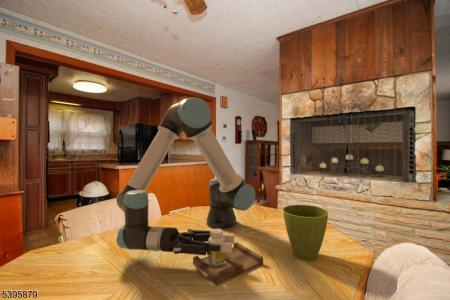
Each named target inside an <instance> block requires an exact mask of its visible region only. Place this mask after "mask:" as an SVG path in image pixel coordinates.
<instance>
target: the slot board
mask: <svg viewBox="0 0 450 300" xmlns="http://www.w3.org/2000/svg"><path fill="white" fill-rule="evenodd" d="M192 264H193V265H194V267H195V269H197V271H199V272H200V273H201V274H202V275H203V277H205V278H207V279H209V280H210V282H212V283H213V284H214V286H218V285H221V284H222V283H224V282H226V281H228V280H229V281H230V280H231V279H233V278H236V277H238V276H240V275H242V274H244V273H247V272H249V271H251V270H253V269H256V268H258V267H260V266H262V265H264V257H263V255H261V254H258V253H256V252H255V251H254V250H251V249H250V248H248V247H246V246H244V245H243V244H241V243H239V242H237V241H235V243H234V244H233V246H232V253H226V252H225V262H224V263H223V264H221V265H212V264H210V263H209V258H208V255H206V256H204V257H201V258H200V256H199V255H195V256H192Z"/></svg>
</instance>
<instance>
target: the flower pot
mask: <svg viewBox="0 0 450 300" xmlns="http://www.w3.org/2000/svg"><path fill="white" fill-rule="evenodd" d="M282 212H283V219H284V224H285V225H284V226H285V228H286V233H287V237H288V240H289V243H290V246H291V249H292V251H293V254H294V256H295V257H297V259H299V260H303V261H314V260H316V259H317V258H318V256H319V253H320V250H321V249H322V245H323V242H324V238H325V234H326V230H327V226H328V221H329V219H328V218H329V211H328V210H326V209H324V208H323V207H319V206H314V205H309V204H292V205H288V206H287V205H286V206H284V207H283V209H282Z"/></svg>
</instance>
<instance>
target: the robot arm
mask: <svg viewBox="0 0 450 300" xmlns="http://www.w3.org/2000/svg"><path fill="white" fill-rule="evenodd" d="M211 115H212V111H211V108H210V107H209V104H208V103H207V102H206V101H205V100H203V99H202V98H200V97H194V96H193V97H191V96H190V97H188V98H187V97H186V98H184V99H182V100H180V101H178V102H176V103H173V104H172V105H171V106H170V107H169V108H168V109H167V111H166V112H165V114H164V116H163V118H162V119H161V121H160V123H159V125H158V126H157V130H158V131H157V133H156V135H155V136H154V137H153V140H152V141H151V143H150V145H149V146H148V148H147V150H146V151H145V153H144V154H143V157H142V158H141V160H140V162H139V163H138V164H137V166H136V168H135V170H134V172H133V173H132V175H131V177H130V178H129V180H128V182H127V183H126V185H125V187H124V188H123V190H121V191H120V192H119V193H118V194H117V196H116V204H117V207H118V208H119V209H120V210H122V212H123V213H124V225H122V226H121V227H120V228H119V229H118V232H117V236H116V240H115V241H116V244H117V246H118V247H119V248H120V249H126V250H130V251H134V250H138V251H151V252H156V253H157V252H164V253H165V252H166V253H173V254H175V255H178V254H185V255H195V256H208V255H210V251H212V252H226V253H232V248H233V245H234V243H236V241H235V234H230V233H229V234H226V233H225V234H224V233H223V237H224V238H225V242H210V243H208V239H209V238H210V237H211V236H210V231H211V230H207V229H206V230H205V229H204V230H201V229H191V228H188V229H187V231H182V232H179V230H178V228H176V227H169V226H166V227H165V226H153V225H152V226H150V225H149V223H150V222H149V203H150V200H149V193H148V191H147V189H148V187H149V185H150V184H151V182H152V180H153V179H154V177H155V176H156V174H157V172H158V170H159V168H160V166H161V164H162V163H163V161H164V159H165V158H166V156H167V155H168V152H169V150H170V149H171V147H172V145H173V143H174V141H175V140H178V139H179V137H181V135H182V133H184V135H185V137H186V138H187V139H188V140H189V139H190V140H192V141H193V142H194V144H195V146H196V148H197V149H198V151H199V152H200V154H201V155H202V157H203V159H204V160H205V162H206V164H207V165H208V167H209V169H210V170H211V172H212V173H213V175H214V177H215V178H211V179H210V180H209V189H208V190H209V211H208V214H207V217H206V225H207V227H209V226H210V228H212V229H228V228H232V227H235V226H236V225H237V217H236V214H235V211H234V209H235V210H237V211H247V210H249V209H250V208H251V207H252V206H253V204H254V202H255V199H256V190H255V188H254V187H253V185H251V184H250V183H248V184H247V183H246V181H245V180H244V178H243V176H242V175H240V174H237V172H236V171H235V169H234V167H233V165H232V163H231V162H230V160H229V157H227V155H226V153H225V151H224V149H223V148H222V146H221V144H220V142H219V140H218V139H217V137H216V135H215V134H214V132H213V130H212V127H213V122H212V120H211V118H212V117H211Z"/></svg>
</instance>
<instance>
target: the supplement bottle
mask: <svg viewBox="0 0 450 300" xmlns="http://www.w3.org/2000/svg"><path fill="white" fill-rule="evenodd" d="M209 231H210V236H211V237H210V238H209V239H208V242H207V243H210V242H225V238H224V237H223V234H224V232H223V231H224V230H223V229H222V228H212V229H210V230H209ZM207 256H208V258H209V263H210V264H212V265H221V264H223V263H224V262H225V252H212V251H210V255H207Z"/></svg>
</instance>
